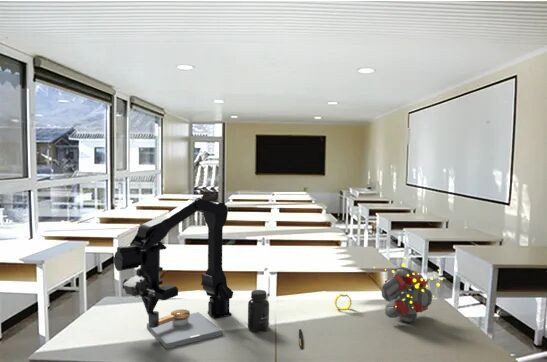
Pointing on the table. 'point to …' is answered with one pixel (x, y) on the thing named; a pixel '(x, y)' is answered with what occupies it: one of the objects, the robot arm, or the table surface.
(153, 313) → the crank handle
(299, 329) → the fountain pen
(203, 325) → the base
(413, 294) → the molecule model
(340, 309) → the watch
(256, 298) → the supplement bottle
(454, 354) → the table surface
